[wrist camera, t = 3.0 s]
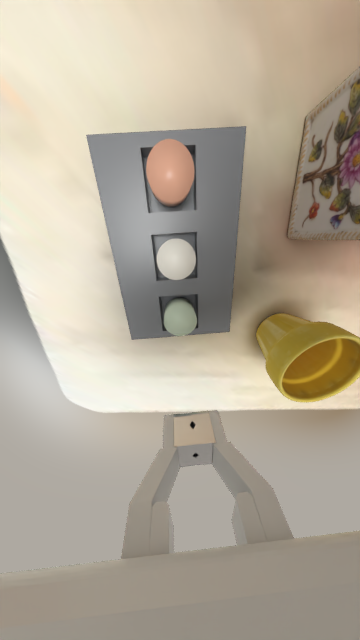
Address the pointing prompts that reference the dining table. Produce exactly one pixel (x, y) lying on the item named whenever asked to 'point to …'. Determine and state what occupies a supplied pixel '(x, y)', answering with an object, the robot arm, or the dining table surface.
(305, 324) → the plant pot
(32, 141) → the dining table surface
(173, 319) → the sage button
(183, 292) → the button console
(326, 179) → the decorative jar
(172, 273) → the ivory button
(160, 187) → the terracotta button
